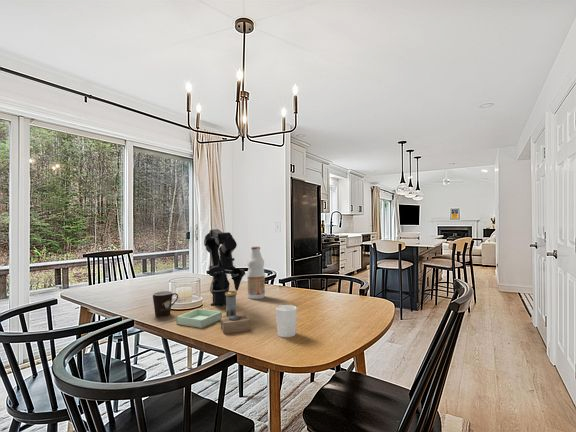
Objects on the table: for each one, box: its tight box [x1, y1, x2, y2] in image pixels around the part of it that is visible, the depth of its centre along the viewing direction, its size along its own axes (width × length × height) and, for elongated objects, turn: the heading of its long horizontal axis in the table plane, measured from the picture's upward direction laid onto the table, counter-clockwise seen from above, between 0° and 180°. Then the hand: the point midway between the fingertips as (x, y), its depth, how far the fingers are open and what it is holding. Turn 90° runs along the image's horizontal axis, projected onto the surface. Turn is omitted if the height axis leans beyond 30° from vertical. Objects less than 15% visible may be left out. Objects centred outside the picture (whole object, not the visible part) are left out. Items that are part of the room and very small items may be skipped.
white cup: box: [275, 304, 298, 338], centre depth 124 cm, size 8×8×10 cm
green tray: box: [176, 308, 223, 329], centre depth 141 cm, size 13×13×3 cm
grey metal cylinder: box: [225, 290, 238, 317], centre depth 138 cm, size 5×5×13 cm
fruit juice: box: [247, 246, 266, 300], centre depth 183 cm, size 9×9×28 cm
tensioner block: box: [220, 314, 250, 334], centre depth 131 cm, size 7×10×5 cm
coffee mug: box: [152, 290, 179, 318], centre depth 152 cm, size 12×9×10 cm
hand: (230, 290), depth 150 cm, fingers open, 9 cm apart
